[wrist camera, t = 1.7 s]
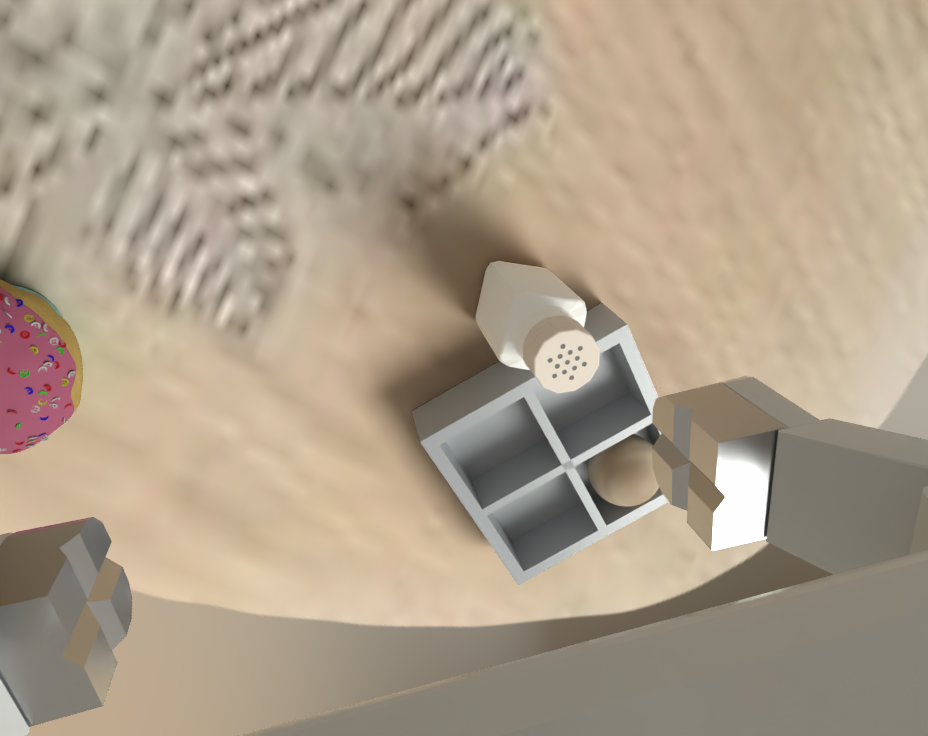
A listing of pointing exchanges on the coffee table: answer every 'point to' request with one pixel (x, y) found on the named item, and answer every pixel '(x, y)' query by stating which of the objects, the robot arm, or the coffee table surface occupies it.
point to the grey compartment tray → (541, 450)
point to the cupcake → (35, 369)
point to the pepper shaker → (537, 325)
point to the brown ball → (624, 472)
